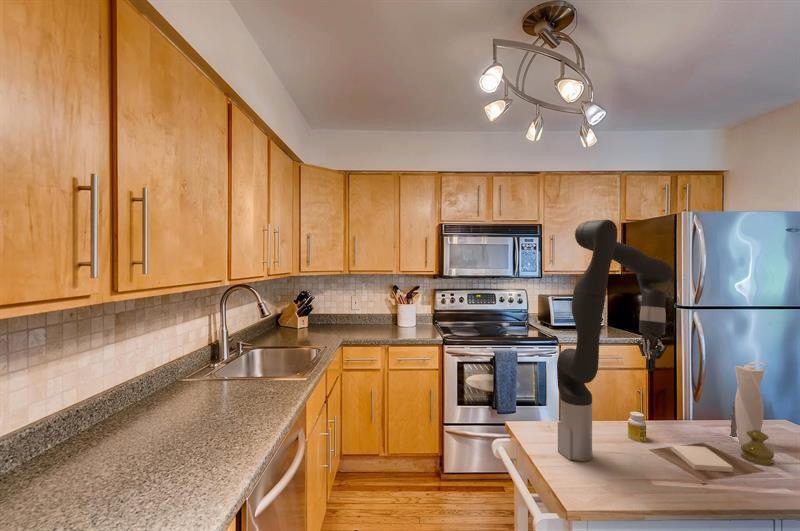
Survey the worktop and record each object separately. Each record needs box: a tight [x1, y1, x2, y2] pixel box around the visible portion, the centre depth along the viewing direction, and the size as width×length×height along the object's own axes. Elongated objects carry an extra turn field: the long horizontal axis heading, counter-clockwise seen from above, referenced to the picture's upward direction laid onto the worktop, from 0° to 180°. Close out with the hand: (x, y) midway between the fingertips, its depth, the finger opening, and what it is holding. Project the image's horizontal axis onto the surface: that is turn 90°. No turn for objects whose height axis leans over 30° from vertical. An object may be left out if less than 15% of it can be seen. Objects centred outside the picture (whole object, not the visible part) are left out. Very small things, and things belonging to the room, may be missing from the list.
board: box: [648, 442, 765, 486], centre depth 117 cm, size 22×18×1 cm
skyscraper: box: [729, 361, 767, 445], centre depth 130 cm, size 8×8×28 cm
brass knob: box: [740, 430, 775, 467], centre depth 117 cm, size 7×7×10 cm
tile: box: [670, 444, 733, 472], centre depth 116 cm, size 10×2×12 cm
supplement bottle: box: [627, 411, 647, 443], centre depth 131 cm, size 5×5×10 cm
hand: (650, 370), depth 132 cm, fingers closed
